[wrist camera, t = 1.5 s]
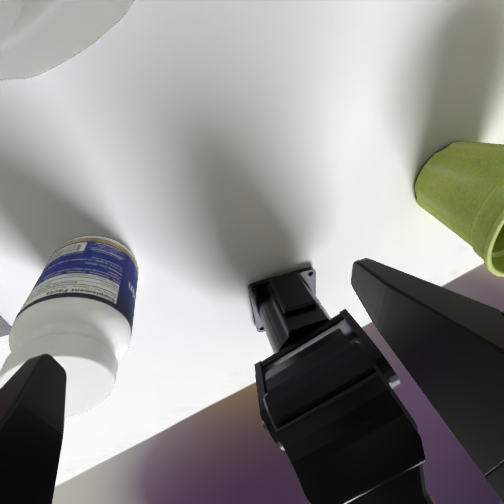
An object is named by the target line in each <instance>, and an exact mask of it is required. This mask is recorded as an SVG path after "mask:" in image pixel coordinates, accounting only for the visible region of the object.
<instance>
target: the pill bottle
mask: <svg viewBox="0 0 504 504" xmlns="http://www.w3.org/2000/svg"><path fill="white" fill-rule="evenodd" d="M137 280H138V264H137V261H136V259H135V257H134V255H133V254H132V253H131V252H130V251H129V250H128V249H127V248H126V247H125V246H124V245H122V244H120V243H119V242H117V241H115V240H112V239H110V238H106V237H101V236H82V237H77V238H74V239H71V240H69V241H67V242H65V243H64V244H62V245H61V246H60V247H59V248H58V249H57V250H56V251H55V252H54V254H53V255H52V257H51V258H50V260H49V262H48V263H47V265H46V267H45V269H44V270H43V272H42V274H41V276H40V278H39V279H38V281H37V283H36V285H35V286H34V288H33V290H32V291H31V293H30V295H29V297H28V299H27V300H26V302H25V304H24V305H23V307H22V309H21V310H20V312H19V313H18V315H17V317H16V319H15V321H14V323H13V325H12V327H11V330H10V334H9V346H10V350H11V352H12V353H11V354H10V355H9V356H8V357H7V359H6V360H5V363H4V365H3V367H2V369H1V371H0V389H1V388H2V386H3V385H4V384H5V383H6V382H7V381H8V380H9V379H10V378H11V377H12V376H13V375H14V374H15V373H16V371H17V370H18V369H19V368H20V367H21V366H22V365H23V364H24V363H25V362H26V361H27V360H28V359H29V358H32V357H35V356H38V355H41V354H46V353H47V354H50V355H51V356H52V357H53V358H54V359H55V360H56V361H57V362H58V363H59V364H60V365H61V366H62V367H63V368H64V369H65V371H66V375H67V382H66V399H65V417H64V418H66V417H71V416H75V415H79V414H82V413H85V412H88V411H90V410H92V409H94V408H96V407H98V406H99V405H100V404H102V403H103V402H104V401H106V400H107V399H108V397H109V396H110V395H111V393H112V392H113V389H114V387H115V382H116V376H117V370H118V361H119V360H120V359H121V358H122V357H123V355H124V354H125V353H126V351H127V349H128V347H129V344H130V340H131V335H132V325H133V316H134V307H135V298H136V289H137Z"/></svg>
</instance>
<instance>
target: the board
mask: <svg viewBox="0 0 504 504" xmlns="http://www.w3.org/2000/svg"><path fill="white" fill-rule="evenodd" d="M10 330H11V326H10V325H9V324H8V323H7V322H6V321H5V320H4V319H3V318H2V317H1V316H0V337H2V336H5V335H9V334H10Z"/></svg>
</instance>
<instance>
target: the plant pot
mask: <svg viewBox="0 0 504 504" xmlns="http://www.w3.org/2000/svg"><path fill="white" fill-rule="evenodd" d="M415 191H416V196H417V203H418V205H419V206H421V207H422V208H423V209H424V210H426V211H427V212H428V213H430V214H431V215H432V216H434V217H435V218H436V219H437V220H439V221H440V222H441V223H443V224H444V225H445V226H447V227H448V228H449V229H450V230H452V231H453V232H454V233H456V234H457V235H458V236H459V237H461V238H462V239H463V240H464V241H466V242H467V243H468V244H470V245H471V246H472V247H473V249H474V251H475V252H476V253H477V254H478V255H479V256H480V257H481V258H482V259H483V260H484V263H485V266H486V268H487V269H488V270H489V271H490V272H492V273H493V274H495V275H497V276H503V277H504V145H503V144H490V143H478V142H465V141H459V142H454V143H451V144H450V145H449V146H448V147H446V148H445V149H443V150H441V151H439V152H437V153H435V154H434V155H433V156H432V157H431V158H430V159H429V160H428V161H427V163H426V164H425V165H424V167H423V168H422V170H421V172H420V174H419V176H418V178H417V181H416V184H415Z"/></svg>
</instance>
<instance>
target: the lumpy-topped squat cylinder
mask: <svg viewBox="0 0 504 504" xmlns="http://www.w3.org/2000/svg"><path fill="white" fill-rule="evenodd" d="M133 2H134V0H0V80H11V79H25V78H30V77H34V76H37V75H39V74H41V73H44V72H46V71H48V70H50V69H52V68H54V67H56V66H58V65H60V64H62V63H63V62H65V61H67V60H68V59H70V58H72V57H73V56H75V55H77V54H78V53H80V52H81V51H83V50H84V49H86V48H87V47H89V46H90V45H91V44H93V43H94V42H95V41H96V40H97V39H99V38H100V37H101V36H102V35H103V34H104V33H105V32H106V31H108V30H109V29H110V28H111V27H113V26H114V25H115V24H116V23H117V22H118V21H119V20H120V19H121V18H122V17H123V16H124V15H125V14H126V13H127V11H128V10H129V8H130V7H131V5H132V4H133Z"/></svg>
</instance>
